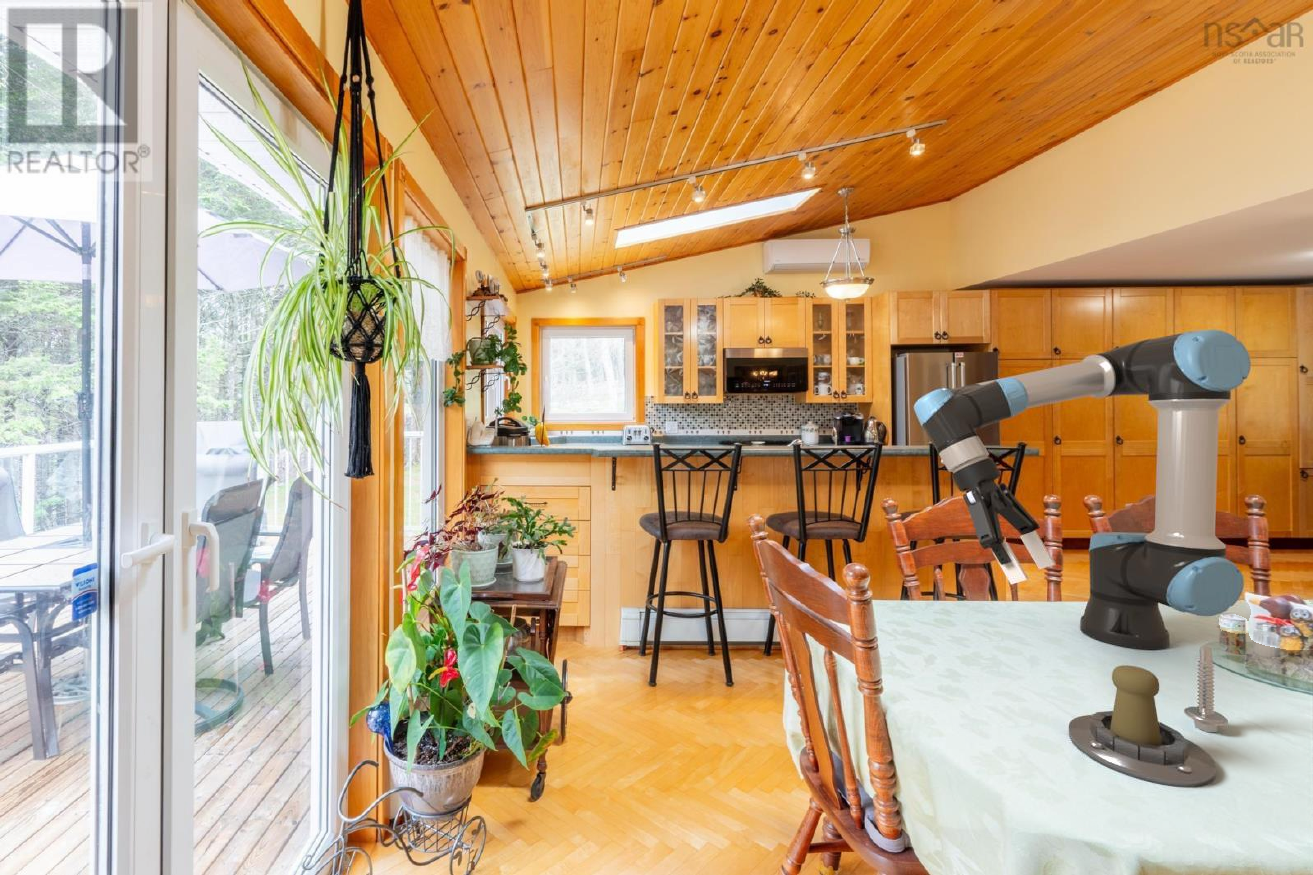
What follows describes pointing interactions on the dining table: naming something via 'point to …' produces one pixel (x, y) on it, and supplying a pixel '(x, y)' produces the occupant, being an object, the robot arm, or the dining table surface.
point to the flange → (1143, 753)
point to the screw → (1206, 696)
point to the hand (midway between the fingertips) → (1034, 574)
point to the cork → (1135, 705)
